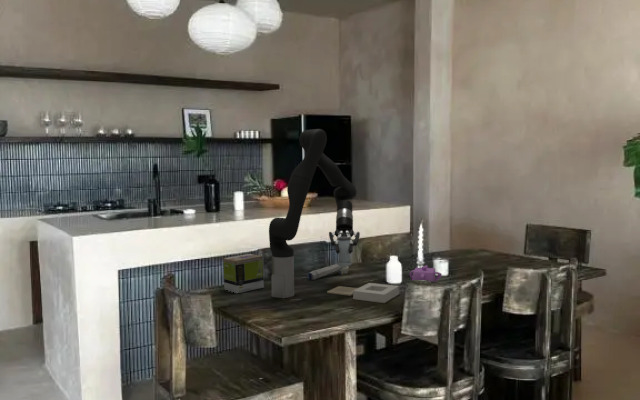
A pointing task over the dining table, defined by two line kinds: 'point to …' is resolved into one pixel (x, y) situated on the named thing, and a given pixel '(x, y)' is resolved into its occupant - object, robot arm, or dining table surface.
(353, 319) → the dining table surface
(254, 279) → the tea box
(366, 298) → the housing
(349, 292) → the mat
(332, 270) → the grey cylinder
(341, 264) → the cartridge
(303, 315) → the dining table surface
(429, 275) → the teapot
